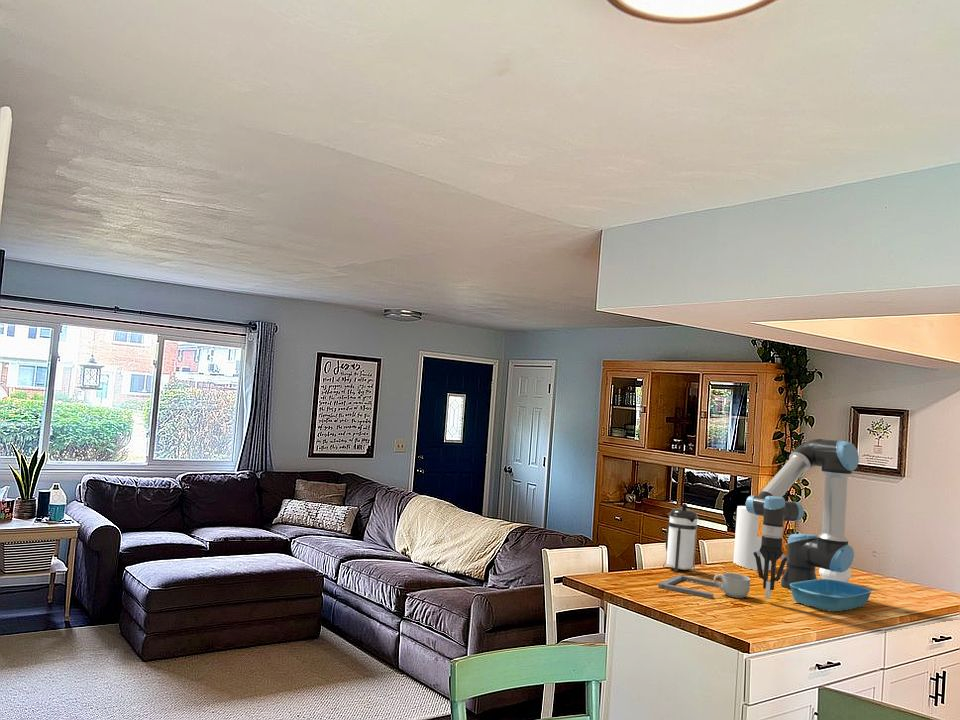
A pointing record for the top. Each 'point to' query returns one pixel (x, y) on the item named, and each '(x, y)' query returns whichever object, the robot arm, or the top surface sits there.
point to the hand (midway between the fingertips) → (767, 597)
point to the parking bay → (669, 585)
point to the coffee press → (681, 538)
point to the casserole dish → (830, 594)
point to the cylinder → (747, 540)
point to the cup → (835, 575)
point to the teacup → (734, 584)
